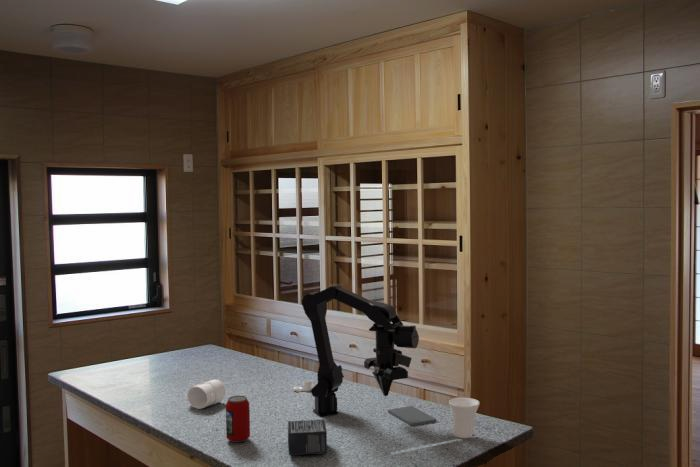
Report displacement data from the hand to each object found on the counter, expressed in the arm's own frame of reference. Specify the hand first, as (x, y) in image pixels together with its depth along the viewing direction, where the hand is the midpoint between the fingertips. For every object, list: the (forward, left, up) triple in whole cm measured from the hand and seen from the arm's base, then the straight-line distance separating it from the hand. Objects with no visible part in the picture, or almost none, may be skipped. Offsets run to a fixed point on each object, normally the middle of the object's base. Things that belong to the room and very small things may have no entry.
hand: (385, 395), depth 200 cm
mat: (+9, 0, -8) cm, 12 cm away
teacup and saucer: (-10, +46, -9) cm, 48 cm away
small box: (-25, -12, -5) cm, 28 cm away
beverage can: (-45, +6, -8) cm, 46 cm away
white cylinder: (-47, +44, -8) cm, 65 cm away
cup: (+15, -21, -8) cm, 27 cm away
